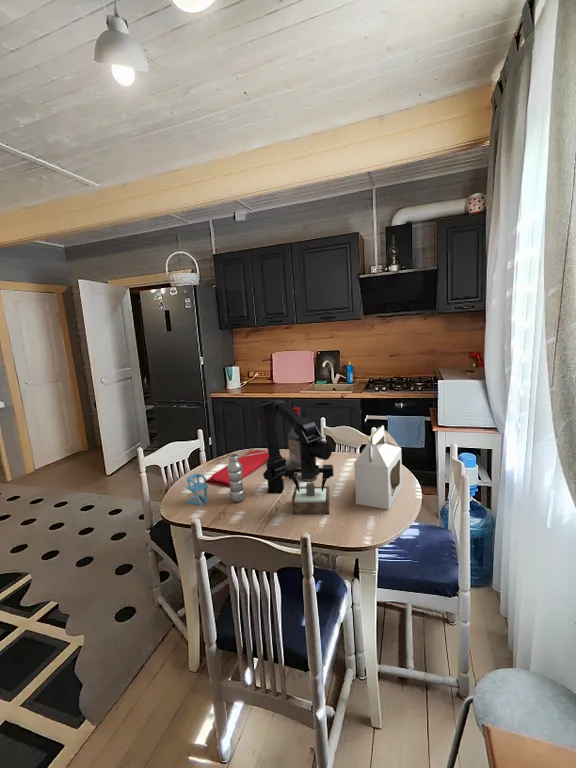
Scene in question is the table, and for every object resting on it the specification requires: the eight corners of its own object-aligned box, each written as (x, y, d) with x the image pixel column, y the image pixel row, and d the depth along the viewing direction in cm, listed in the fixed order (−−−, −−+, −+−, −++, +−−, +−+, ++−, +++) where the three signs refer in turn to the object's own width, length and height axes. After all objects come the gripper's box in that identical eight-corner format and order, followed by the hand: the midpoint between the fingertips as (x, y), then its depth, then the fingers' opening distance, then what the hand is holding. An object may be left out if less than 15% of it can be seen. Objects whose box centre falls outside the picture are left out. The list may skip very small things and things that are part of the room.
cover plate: (294, 502, 146) (293, 490, 145) (297, 490, 156) (296, 479, 155) (325, 502, 144) (325, 490, 143) (326, 490, 154) (325, 479, 153)
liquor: (301, 468, 190) (297, 411, 185) (287, 465, 196) (283, 409, 191) (312, 462, 197) (308, 406, 192) (298, 459, 203) (294, 405, 198)
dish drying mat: (205, 483, 182) (204, 476, 182) (252, 454, 218) (251, 448, 217) (231, 488, 175) (230, 481, 174) (276, 457, 210) (275, 451, 210)
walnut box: (292, 514, 147) (291, 499, 146) (295, 500, 157) (294, 486, 156) (329, 514, 145) (328, 499, 144) (329, 500, 156) (328, 486, 155)
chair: (197, 508, 158) (194, 481, 156) (185, 502, 163) (182, 476, 161) (212, 500, 163) (209, 474, 161) (200, 495, 169) (197, 470, 167)
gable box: (372, 481, 170) (370, 421, 165) (402, 486, 164) (400, 423, 159) (355, 504, 151) (352, 436, 146) (388, 510, 145) (386, 440, 140)
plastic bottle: (233, 505, 157) (228, 459, 154) (228, 499, 163) (223, 455, 160) (248, 501, 160) (243, 456, 157) (242, 495, 166) (238, 451, 163)
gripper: (281, 462, 140) (284, 501, 143) (332, 460, 138) (334, 500, 140) (285, 451, 151) (288, 488, 154) (332, 450, 149) (334, 487, 151)
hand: (310, 491), depth 150 cm, fingers open, 9 cm apart
